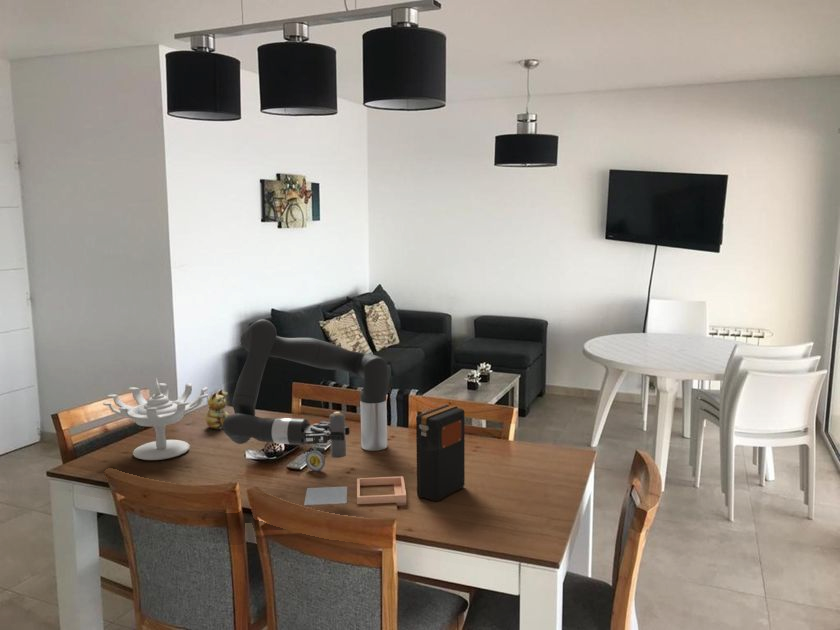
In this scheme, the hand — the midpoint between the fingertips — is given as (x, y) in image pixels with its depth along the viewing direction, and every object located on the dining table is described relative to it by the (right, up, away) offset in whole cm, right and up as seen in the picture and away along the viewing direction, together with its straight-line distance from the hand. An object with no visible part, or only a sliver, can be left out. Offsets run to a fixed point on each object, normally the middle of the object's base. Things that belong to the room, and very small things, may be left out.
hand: (346, 433), depth 196 cm
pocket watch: (-13, -17, +20) cm, 30 cm away
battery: (-3, -6, +1) cm, 7 cm away
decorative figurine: (-59, -10, +71) cm, 93 cm away
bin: (+10, -19, +4) cm, 22 cm away
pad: (-6, -20, +3) cm, 21 cm away
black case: (+28, -19, +7) cm, 34 cm away
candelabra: (-70, -14, +43) cm, 83 cm away
